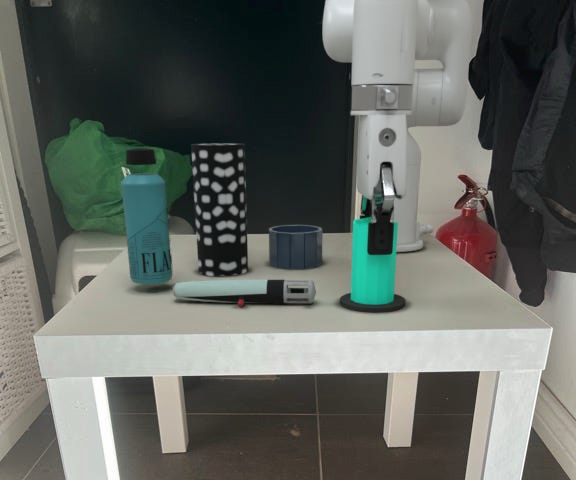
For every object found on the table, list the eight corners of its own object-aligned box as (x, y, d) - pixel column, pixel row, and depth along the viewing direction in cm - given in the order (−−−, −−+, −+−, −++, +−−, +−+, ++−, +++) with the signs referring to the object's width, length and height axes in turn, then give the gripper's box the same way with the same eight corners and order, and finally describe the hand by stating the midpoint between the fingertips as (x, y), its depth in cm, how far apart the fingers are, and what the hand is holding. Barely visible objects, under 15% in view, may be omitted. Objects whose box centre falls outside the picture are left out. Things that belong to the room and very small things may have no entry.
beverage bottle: (140, 296, 93) (125, 149, 85) (124, 287, 98) (109, 148, 90) (181, 290, 96) (171, 148, 88) (163, 281, 101) (152, 146, 94)
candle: (347, 293, 91) (349, 206, 87) (389, 292, 92) (393, 206, 87) (354, 305, 86) (357, 213, 81) (398, 304, 86) (404, 212, 81)
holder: (302, 256, 119) (302, 223, 117) (332, 264, 112) (332, 229, 110) (259, 262, 115) (258, 228, 112) (288, 271, 108) (287, 235, 105)
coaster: (376, 291, 95) (376, 287, 94) (419, 305, 88) (419, 301, 87) (326, 301, 90) (326, 296, 90) (368, 316, 83) (368, 311, 83)
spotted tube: (188, 273, 107) (180, 144, 99) (216, 263, 114) (210, 143, 106) (231, 278, 103) (225, 145, 95) (257, 268, 110) (254, 143, 102)
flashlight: (166, 295, 87) (315, 297, 85) (172, 274, 89) (316, 274, 88) (171, 313, 89) (315, 314, 88) (176, 291, 92) (316, 292, 90)
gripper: (429, 100, 71) (418, 262, 78) (396, 103, 87) (389, 238, 94) (362, 101, 71) (357, 263, 78) (341, 104, 87) (338, 238, 94)
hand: (374, 248), depth 86 cm, fingers closed on candle, 6 cm apart
